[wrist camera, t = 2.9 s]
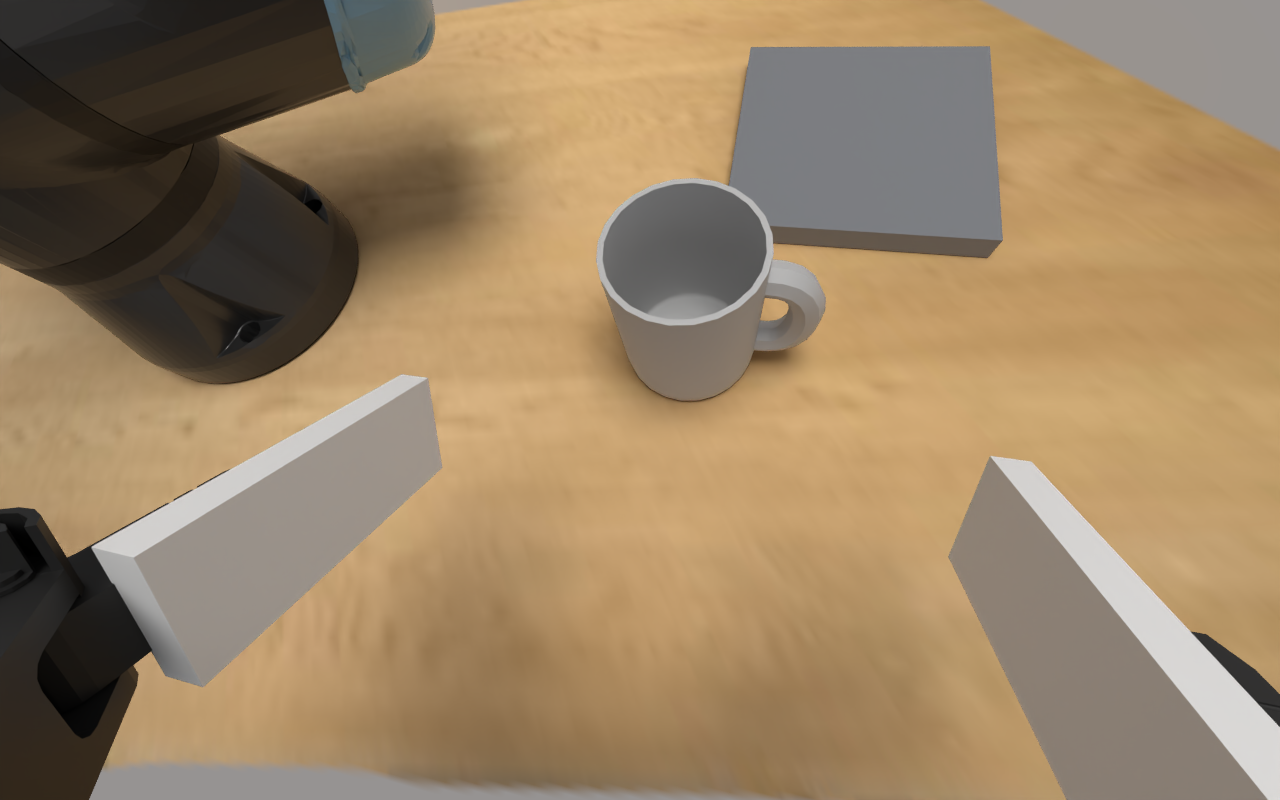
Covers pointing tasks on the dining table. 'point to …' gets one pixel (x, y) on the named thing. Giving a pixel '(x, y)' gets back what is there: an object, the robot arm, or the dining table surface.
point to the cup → (699, 286)
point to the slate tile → (872, 148)
